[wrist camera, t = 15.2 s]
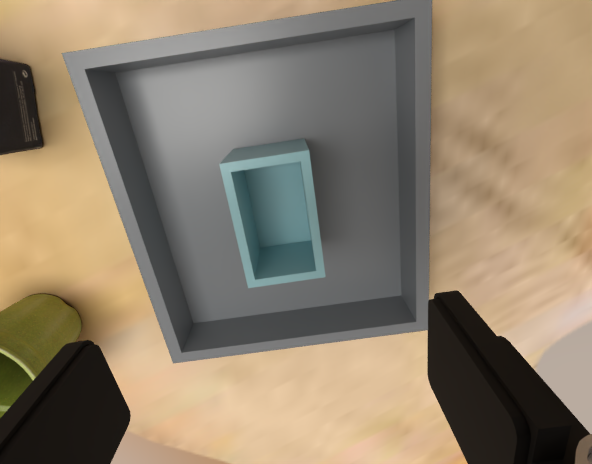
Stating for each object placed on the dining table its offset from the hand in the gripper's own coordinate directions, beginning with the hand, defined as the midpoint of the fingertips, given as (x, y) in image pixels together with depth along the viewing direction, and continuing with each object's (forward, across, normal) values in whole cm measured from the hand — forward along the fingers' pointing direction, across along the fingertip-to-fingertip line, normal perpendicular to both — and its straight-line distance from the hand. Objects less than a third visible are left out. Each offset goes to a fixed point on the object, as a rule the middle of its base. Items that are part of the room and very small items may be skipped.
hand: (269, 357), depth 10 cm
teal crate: (+20, 0, +1) cm, 20 cm away
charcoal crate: (+20, 0, +1) cm, 21 cm away
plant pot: (+20, +25, +10) cm, 34 cm away
